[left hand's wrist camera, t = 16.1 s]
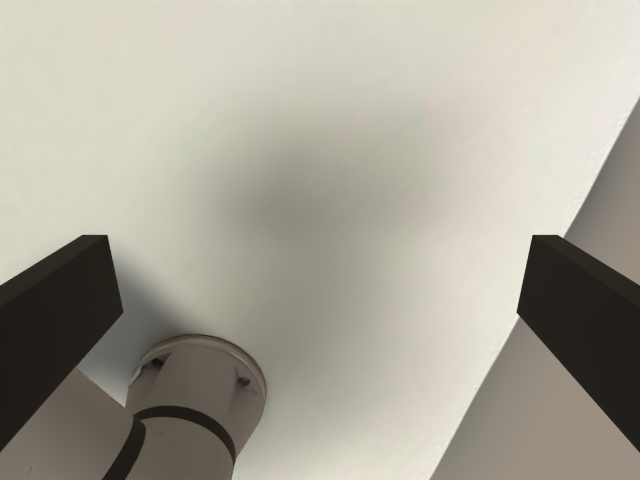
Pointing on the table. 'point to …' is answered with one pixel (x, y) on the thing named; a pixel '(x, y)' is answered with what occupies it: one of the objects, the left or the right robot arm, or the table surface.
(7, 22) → the table surface
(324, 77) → the table surface
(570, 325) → the left robot arm
